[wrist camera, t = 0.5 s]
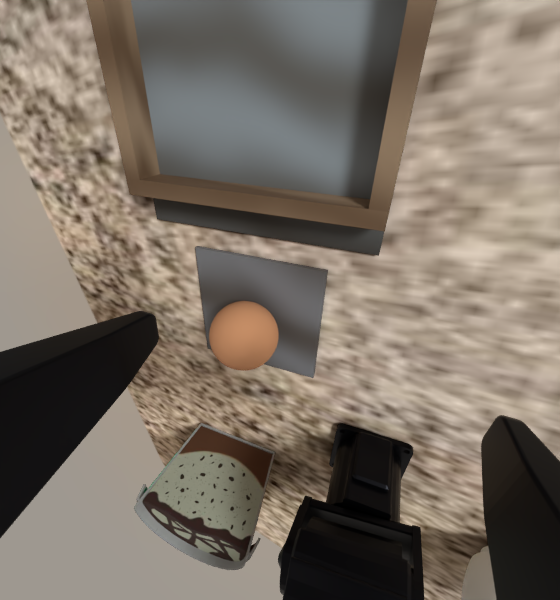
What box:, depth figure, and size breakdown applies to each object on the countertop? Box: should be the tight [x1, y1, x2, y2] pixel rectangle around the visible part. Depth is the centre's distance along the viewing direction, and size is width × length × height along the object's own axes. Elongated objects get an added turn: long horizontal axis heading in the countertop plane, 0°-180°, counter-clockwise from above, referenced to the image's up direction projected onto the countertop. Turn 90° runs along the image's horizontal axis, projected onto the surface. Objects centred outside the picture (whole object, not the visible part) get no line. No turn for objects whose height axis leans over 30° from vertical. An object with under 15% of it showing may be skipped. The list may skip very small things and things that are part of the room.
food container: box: [134, 423, 275, 570], centre depth 33 cm, size 12×6×10 cm, turn 84°
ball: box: [209, 301, 279, 370], centre depth 23 cm, size 5×5×5 cm
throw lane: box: [86, 0, 437, 378], centre depth 19 cm, size 28×16×2 cm, turn 178°
